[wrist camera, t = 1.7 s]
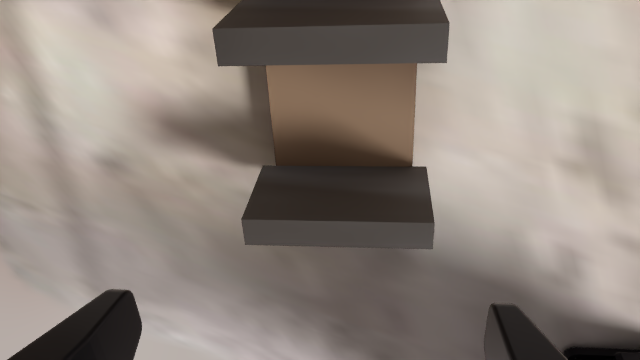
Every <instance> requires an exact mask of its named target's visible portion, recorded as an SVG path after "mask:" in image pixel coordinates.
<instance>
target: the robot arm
mask: <svg viewBox="0 0 640 360" xmlns="http://www.w3.org/2000/svg"><path fill="white" fill-rule="evenodd" d="M141 331H142V322H141V318H140V315H139V311H138V308H137V305H136V302H135V298H134V296H133V293H132V292H131V291H129V290H119V289H111V290H107V291H105V292H104V293H102V294H101V295H99V296H98V297H96V298H95V299H94V300H92V301H91V302H89V303H88V304H86V305H85V306H84V307H82V308H81V309H79V310H78V311H76V312H75V313H73V314H72V315H71V316H69V317H68V318H66V319H65V320H63V321H62V322H61V323H59V324H58V325H56V326H55V327H53V328H52V329H51V330H49V331H48V332H46V333H45V334H43V335H42V336H41V337H39V338H38V339H36V340H35V341H33V342H32V343H30V344H29V345H28V346H26V347H25V348H23V349H22V350H20V351H19V352H18V353H16V354H15V355H13V356H12V357H11V358H9V359H8V360H133V359H134V356H135V352H136V349H137V346H138V343H139V339H140V336H141ZM484 350H485V359H486V360H640V350H626V349H603V348H580V347H575V348H570V349H567V350H566V351H565V352H564V353H563V354H562V353H561V352H560V351H559V350H558V349H557V348H556V347H555V346H554V345H553V343H552V342H551V341H550V340H549V339H548V338H547V337H546V336H545V335H544V334H543V333H542V332H541V331H540V330H539V328H538V327H537V326H536V325H535V324H534V323H533V322H532V321H531V320H530V319H529V318H528V317H527V316H526V315H525V314H524V312H523V311H522V310H521V309H520V308H519V307H518V306H516V305H515V304H506V303H493V304H491V305H490V307H489V311H488V317H487V324H486V330H485V336H484ZM575 358H576V359H575Z"/></svg>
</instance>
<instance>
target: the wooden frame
mask: <svg viewBox="0 0 640 360" xmlns="http://www.w3.org/2000/svg"><path fill="white" fill-rule="evenodd" d="M213 36H214V43H215V49H216V56H217V62H218V66H266V74H267V83H268V93H269V103H270V112H271V122H272V131H273V141H274V150H275V160H276V166H263V167H262V169H261V172H260V174H259V177H258V179H257V182H256V184H255V187H254V189H253V192H252V194H251V197H250V199H249V202H248V204H247V207H246V209H245V212H244V214H243V217H242V219H241V220H242V227H243V233H244V240H245V245H280V246H321V247H363V248H404V249H433V236H434V217H433V210H432V203H431V196H430V189H429V182H428V175H427V168H426V167H412V160H413V139H414V117H415V95H416V73H417V63H447V50H448V36H449V21H448V18H447V16H446V14H445V11H444V9H443V7H442V4H441V2H440V0H242V1H241V2H240V3H239V4H238V5H237V6H236V7H235V8H234V9H232V10H231V11H230V12H229V13H228V14H227V15H226V16H225V17H224V18H223V19H222V20H221V21H220V22H219V23H218V24H217V25H216V26H215V27H214V28H213Z"/></svg>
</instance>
